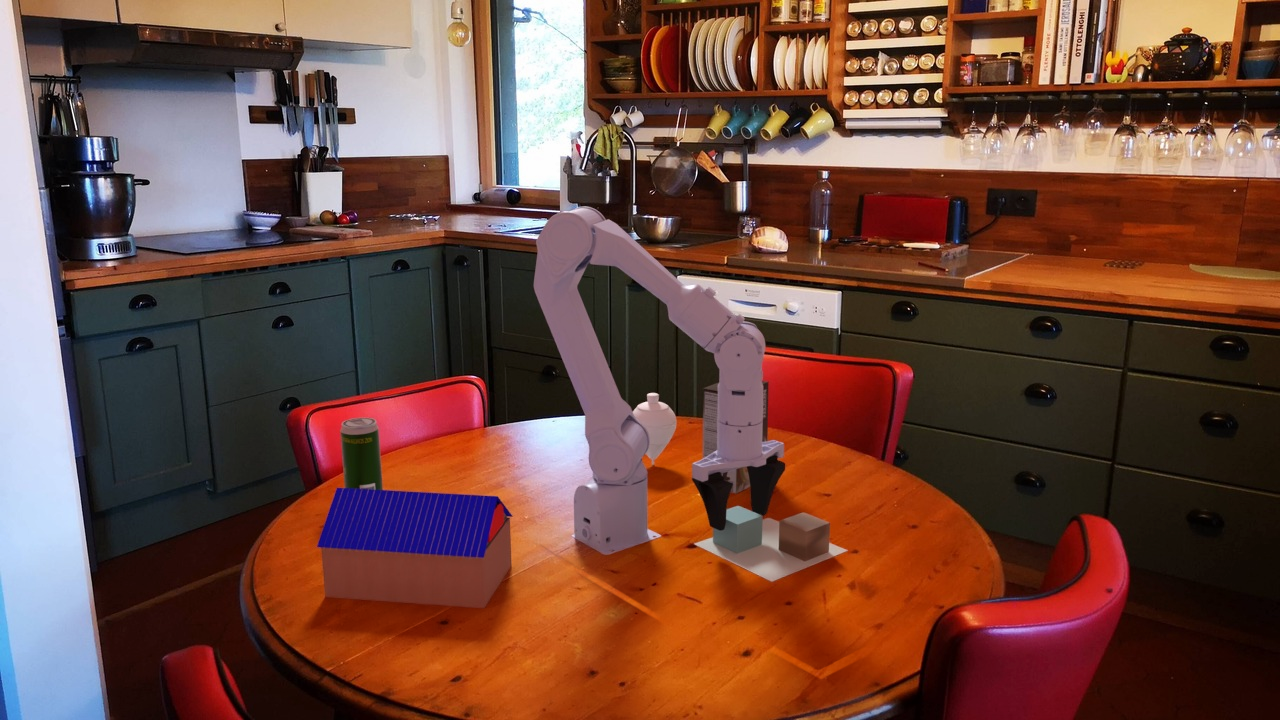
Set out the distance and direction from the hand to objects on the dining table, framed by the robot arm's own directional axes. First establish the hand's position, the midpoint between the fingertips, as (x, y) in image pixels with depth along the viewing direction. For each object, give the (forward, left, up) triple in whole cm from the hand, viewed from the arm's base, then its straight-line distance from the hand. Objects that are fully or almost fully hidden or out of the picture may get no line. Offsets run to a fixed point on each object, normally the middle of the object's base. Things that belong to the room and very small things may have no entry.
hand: (738, 520), depth 125 cm
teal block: (0, 0, -3) cm, 3 cm away
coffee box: (+16, +17, -4) cm, 24 cm away
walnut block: (+5, -7, -3) cm, 9 cm away
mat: (+2, -3, -4) cm, 6 cm away
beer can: (-31, +47, -4) cm, 57 cm away
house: (-37, +17, -4) cm, 41 cm away
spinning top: (+12, +32, -4) cm, 34 cm away
